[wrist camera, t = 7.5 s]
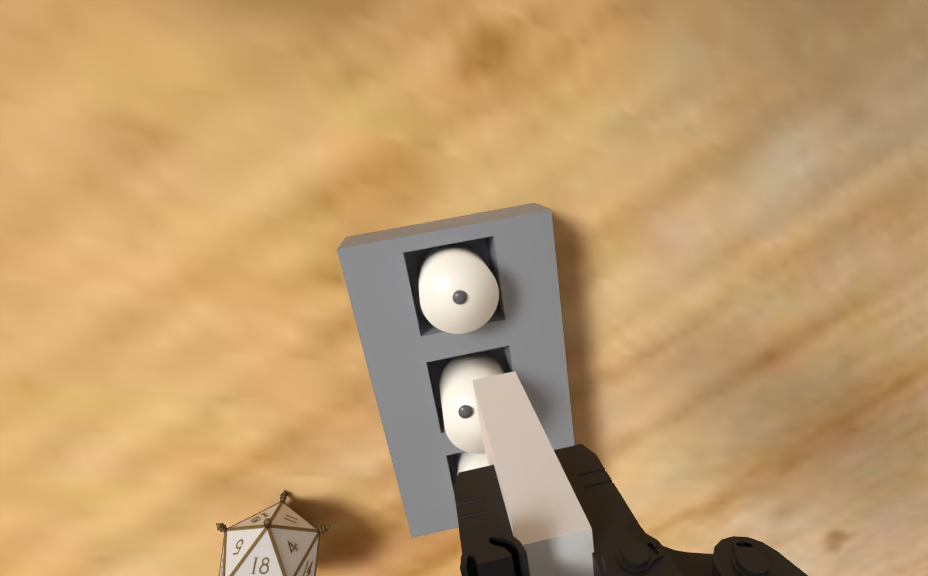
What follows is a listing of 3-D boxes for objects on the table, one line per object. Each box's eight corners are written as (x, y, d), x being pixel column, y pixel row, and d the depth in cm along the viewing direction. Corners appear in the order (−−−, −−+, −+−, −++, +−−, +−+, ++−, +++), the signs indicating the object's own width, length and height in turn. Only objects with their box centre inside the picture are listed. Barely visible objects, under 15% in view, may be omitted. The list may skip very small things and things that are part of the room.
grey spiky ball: (308, 473, 41) (358, 515, 34) (297, 568, 40) (346, 632, 33) (199, 491, 35) (230, 546, 28) (184, 601, 35) (212, 689, 27)
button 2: (433, 359, 32) (438, 396, 27) (500, 346, 32) (516, 380, 28) (445, 417, 34) (451, 462, 29) (508, 403, 34) (525, 446, 29)
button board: (345, 237, 31) (337, 249, 28) (534, 203, 32) (551, 209, 29) (411, 500, 39) (411, 537, 35) (563, 466, 40) (579, 499, 36)
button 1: (411, 249, 31) (412, 267, 26) (480, 236, 32) (493, 251, 27) (425, 313, 33) (427, 341, 28) (490, 300, 33) (504, 326, 28)
